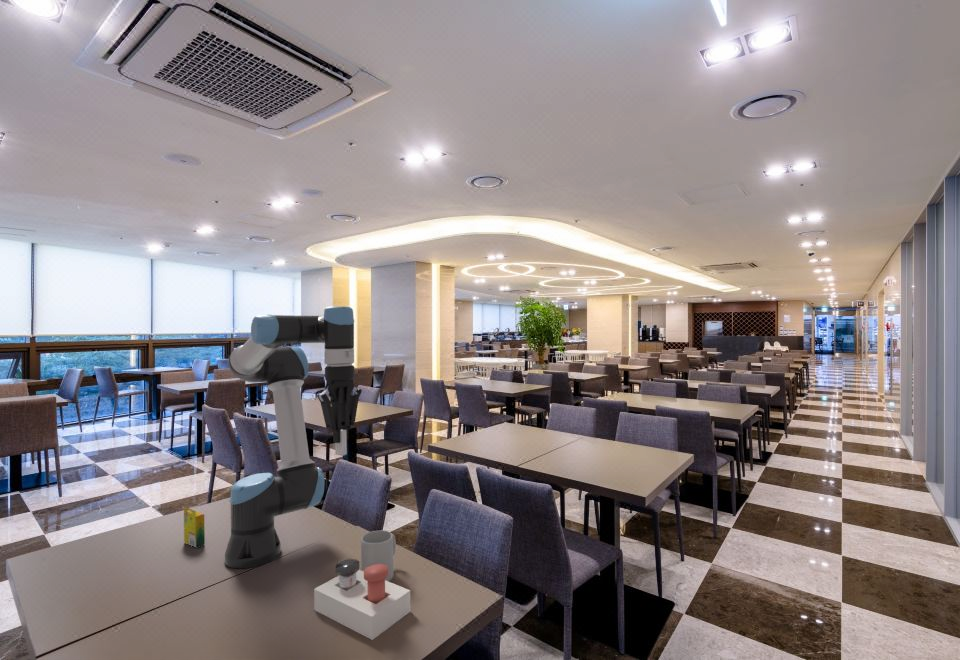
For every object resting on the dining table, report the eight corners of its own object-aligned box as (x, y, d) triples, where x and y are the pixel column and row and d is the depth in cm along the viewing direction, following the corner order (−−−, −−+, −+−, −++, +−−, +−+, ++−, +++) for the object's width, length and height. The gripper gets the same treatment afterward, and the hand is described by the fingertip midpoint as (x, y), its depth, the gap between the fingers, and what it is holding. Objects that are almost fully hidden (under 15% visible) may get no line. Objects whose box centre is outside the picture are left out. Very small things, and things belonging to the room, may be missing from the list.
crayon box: (205, 545, 146) (204, 508, 146) (195, 548, 143) (194, 511, 143) (193, 539, 150) (193, 504, 150) (183, 543, 147) (183, 506, 147)
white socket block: (314, 610, 110) (314, 589, 110) (353, 586, 120) (353, 567, 120) (372, 640, 99) (371, 616, 99) (410, 611, 109) (410, 590, 109)
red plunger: (359, 612, 106) (358, 572, 106) (377, 600, 110) (376, 561, 110) (376, 620, 102) (375, 579, 103) (394, 607, 107) (393, 568, 107)
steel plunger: (331, 604, 111) (330, 566, 111) (349, 593, 116) (349, 556, 116) (346, 612, 108) (345, 572, 108) (364, 600, 113) (364, 562, 113)
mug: (380, 588, 119) (380, 546, 119) (354, 581, 122) (354, 540, 122) (407, 567, 129) (406, 528, 129) (382, 561, 133) (381, 523, 133)
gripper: (328, 367, 114) (329, 462, 113) (368, 363, 124) (369, 450, 124) (309, 366, 118) (310, 458, 118) (349, 363, 129) (351, 447, 128)
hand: (341, 454), depth 121 cm, fingers closed
